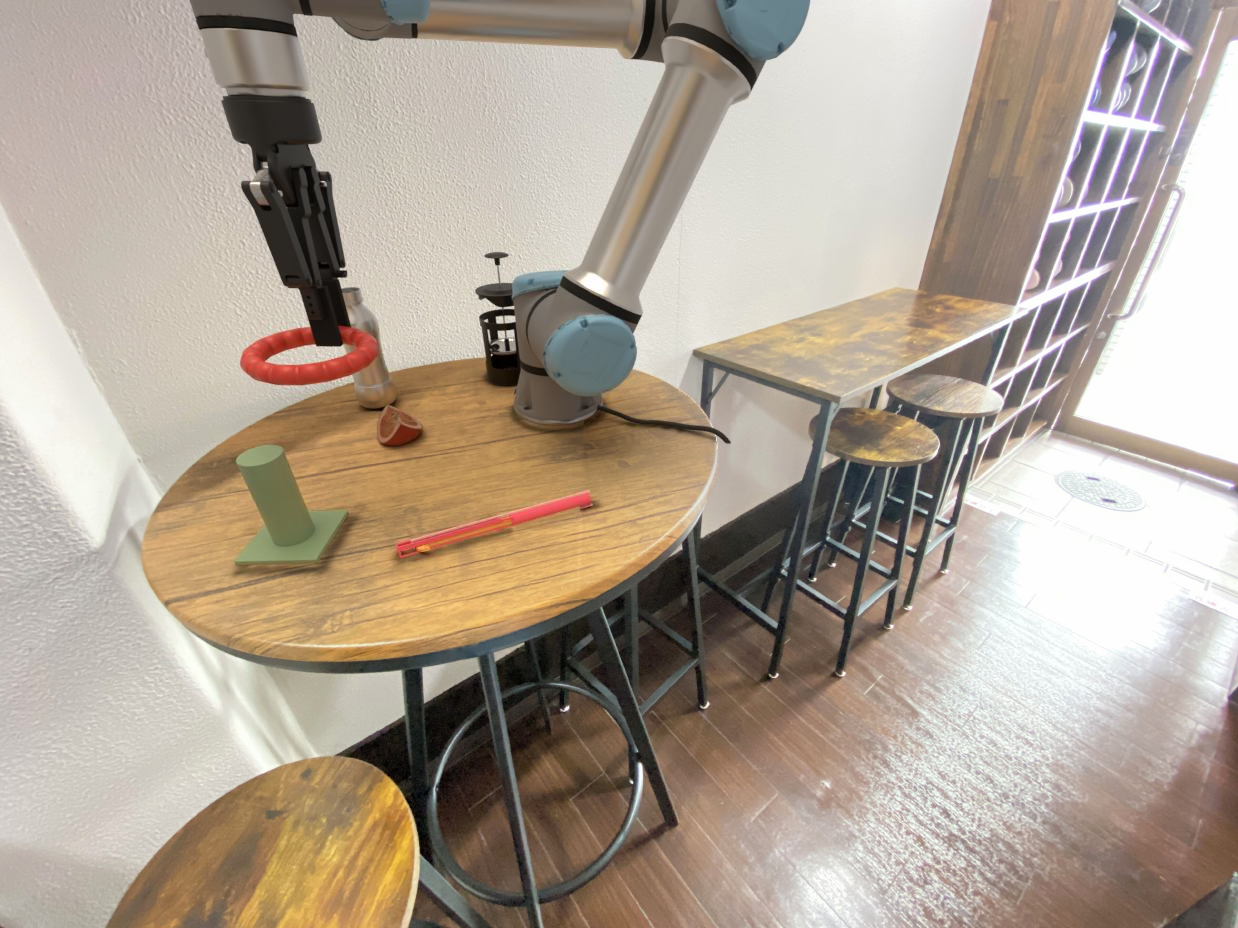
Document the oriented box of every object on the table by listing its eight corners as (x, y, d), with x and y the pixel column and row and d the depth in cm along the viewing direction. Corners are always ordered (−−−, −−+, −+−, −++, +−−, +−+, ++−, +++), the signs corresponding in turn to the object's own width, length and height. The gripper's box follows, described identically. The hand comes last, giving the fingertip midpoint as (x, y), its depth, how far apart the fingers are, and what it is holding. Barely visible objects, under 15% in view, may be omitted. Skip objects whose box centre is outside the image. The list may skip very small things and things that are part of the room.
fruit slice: (374, 435, 85) (366, 407, 83) (416, 424, 88) (410, 397, 86) (386, 459, 79) (378, 429, 77) (431, 446, 82) (425, 417, 80)
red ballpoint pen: (398, 552, 63) (400, 567, 59) (394, 536, 63) (395, 549, 59) (584, 499, 72) (597, 509, 68) (582, 484, 72) (595, 493, 67)
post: (351, 519, 68) (321, 433, 61) (320, 569, 60) (281, 477, 53) (278, 520, 67) (240, 434, 60) (238, 571, 60) (189, 479, 53)
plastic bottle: (407, 401, 95) (379, 288, 85) (374, 416, 91) (340, 298, 80) (384, 393, 98) (354, 282, 88) (351, 407, 94) (315, 292, 83)
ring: (394, 340, 63) (391, 324, 62) (355, 389, 53) (350, 370, 51) (281, 338, 62) (275, 322, 61) (217, 387, 52) (209, 368, 51)
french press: (501, 391, 99) (484, 262, 86) (474, 376, 105) (454, 253, 92) (551, 374, 106) (542, 251, 93) (523, 361, 111) (511, 244, 99)
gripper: (269, 97, 55) (331, 320, 68) (167, 88, 43) (267, 365, 55) (342, 98, 56) (390, 320, 68) (263, 90, 43) (340, 366, 55)
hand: (335, 340), depth 62 cm, fingers closed on ring, 2 cm apart
